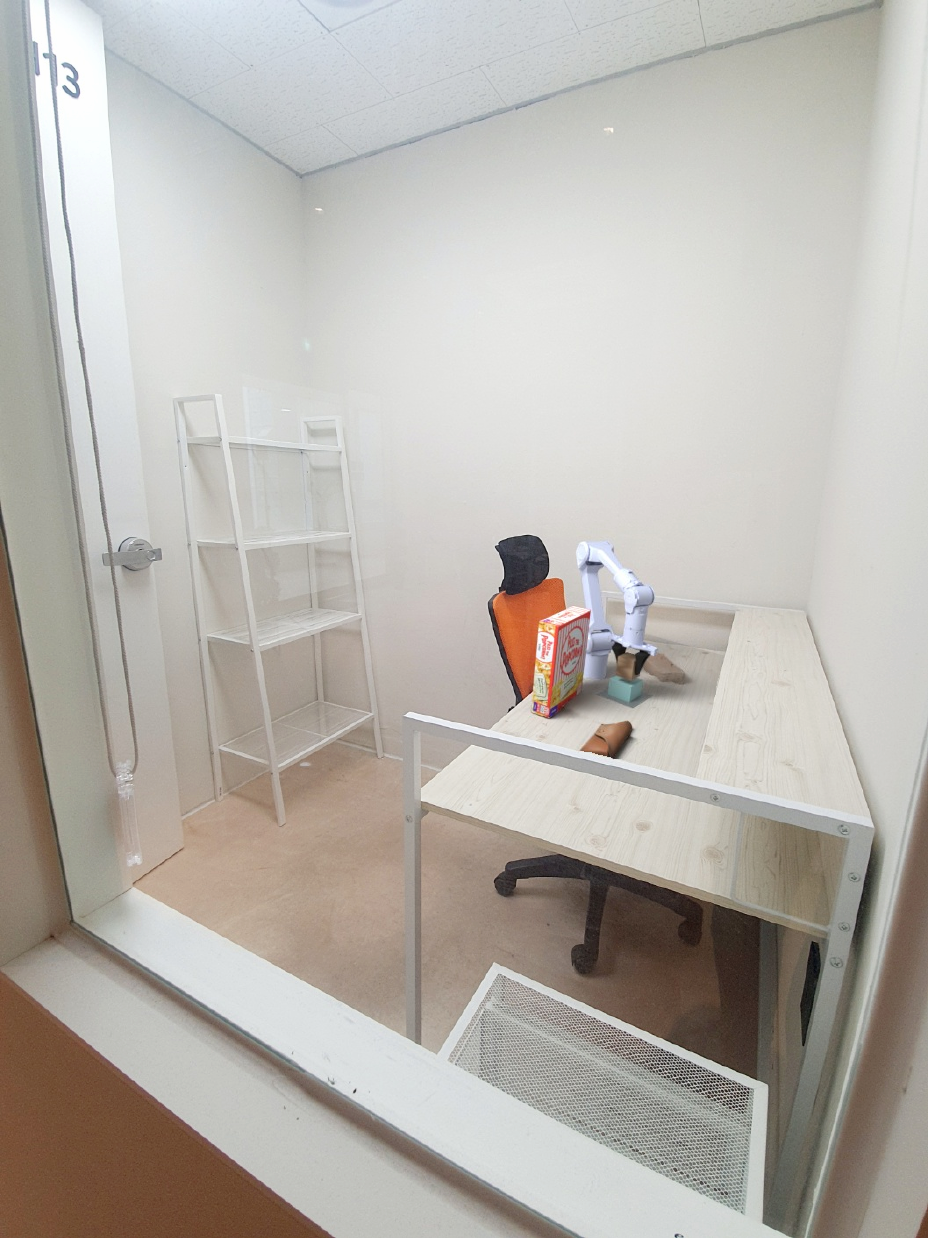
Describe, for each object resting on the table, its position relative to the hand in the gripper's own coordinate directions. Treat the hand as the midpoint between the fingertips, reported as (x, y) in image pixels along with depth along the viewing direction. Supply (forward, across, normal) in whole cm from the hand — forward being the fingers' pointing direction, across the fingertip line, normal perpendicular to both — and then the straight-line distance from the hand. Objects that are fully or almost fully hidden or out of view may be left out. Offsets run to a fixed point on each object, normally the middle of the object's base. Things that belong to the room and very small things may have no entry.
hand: (628, 671), depth 155 cm
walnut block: (+1, 0, 0) cm, 1 cm away
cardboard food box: (+10, -12, -17) cm, 23 cm away
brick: (+10, -1, +27) cm, 28 cm away
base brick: (+8, -1, +1) cm, 8 cm away
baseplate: (+9, -1, +1) cm, 9 cm away
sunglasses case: (+10, +9, -26) cm, 29 cm away
